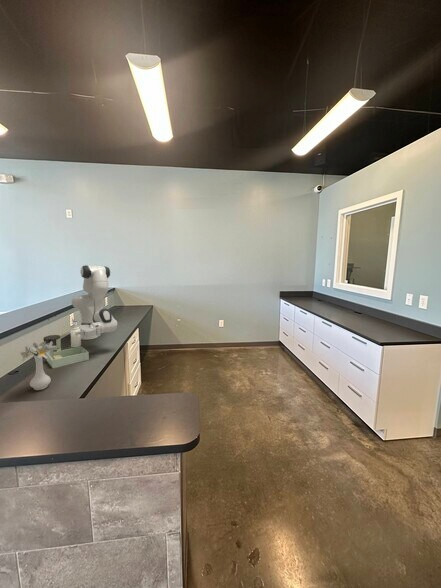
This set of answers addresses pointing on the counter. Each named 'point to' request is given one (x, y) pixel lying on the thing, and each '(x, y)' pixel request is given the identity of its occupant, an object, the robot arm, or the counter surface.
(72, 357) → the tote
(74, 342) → the milk bottle
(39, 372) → the flower vase
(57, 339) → the coffee can
